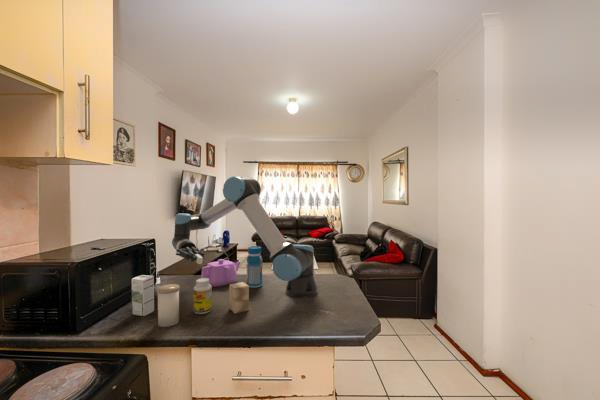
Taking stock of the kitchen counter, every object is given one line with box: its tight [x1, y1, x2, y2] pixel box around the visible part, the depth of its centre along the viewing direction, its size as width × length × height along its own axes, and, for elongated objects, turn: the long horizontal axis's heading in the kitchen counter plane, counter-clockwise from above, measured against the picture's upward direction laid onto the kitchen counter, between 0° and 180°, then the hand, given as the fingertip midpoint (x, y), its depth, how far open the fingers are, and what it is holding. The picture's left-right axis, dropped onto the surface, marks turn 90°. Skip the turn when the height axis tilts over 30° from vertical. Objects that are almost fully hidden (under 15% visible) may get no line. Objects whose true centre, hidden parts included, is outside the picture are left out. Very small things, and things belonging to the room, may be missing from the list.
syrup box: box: [131, 274, 155, 317], centre depth 109 cm, size 6×6×14 cm
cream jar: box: [156, 283, 180, 328], centre depth 101 cm, size 7×7×13 cm
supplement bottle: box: [192, 277, 213, 315], centre depth 111 cm, size 7×7×13 cm
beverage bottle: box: [245, 245, 264, 289], centre depth 144 cm, size 8×8×20 cm
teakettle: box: [200, 258, 241, 288], centre depth 149 cm, size 17×17×12 cm
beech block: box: [228, 281, 250, 314], centre depth 114 cm, size 6×6×10 cm
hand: (200, 260), depth 117 cm, fingers closed
